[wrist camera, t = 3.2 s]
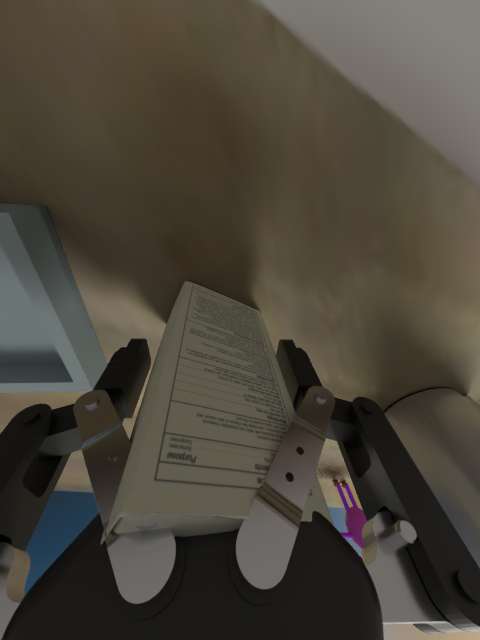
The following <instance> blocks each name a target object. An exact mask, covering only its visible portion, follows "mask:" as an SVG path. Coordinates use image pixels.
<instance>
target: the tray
mask: <svg viewBox="0 0 480 640" xmlns="http://www.w3.org/2000/svg"><path fill="white" fill-rule="evenodd" d="M106 366H107V364H106V361H105V358H104V356H103V353H102V351H101V348H100V345H99V343H98V340H97V337H96V335H95V332H94V330H93V327H92V324H91V322H90V319H89V316H88V314H87V311H86V309H85V306H84V303H83V301H82V298H81V295H80V293H79V290H78V288H77V285H76V282H75V280H74V277H73V274H72V272H71V269H70V267H69V264H68V261H67V259H66V256H65V253H64V251H63V248H62V246H61V243H60V240H59V238H58V235H57V232H56V230H55V227H54V225H53V222H52V219H51V217H50V214H49V211H48V209H47V206H42V205H26V204H9V203H0V393H19V392H76V391H92V390H93V389H94V387H95V385H96V383H97V382H98V380H99V378H100V377H101V375H102V373H103V372H104V370H105V368H106Z"/></svg>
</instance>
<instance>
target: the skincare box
mask: <svg viewBox="0 0 480 640" xmlns="http://www.w3.org/2000/svg"><path fill="white" fill-rule="evenodd" d="M295 416H296V413H295V410H294V408H293V405H292V401H291V399H290V396H289V393H288V390H287V387H286V384H285V381H284V378H283V375H282V372H281V370H280V367H279V364H278V361H277V358H276V355H275V352H274V349H273V346H272V343H271V340H270V337H269V334H268V331H267V329H266V326H265V323H264V320H263V317H262V314H261V312H260V311H258V310H256V309H253V308H251V307H249V306H247V305H245V304H242V303H240V302H238V301H235V300H233V299H231V298H228V297H226V296H224V295H221V294H219V293H217V292H214V291H212V290H210V289H207V288H205V287H202V286H199V285H197V284H194V283H192V282H189V281H185V282H184V284H183V286H182V288H181V290H180V293H179V295H178V297H177V299H176V302H175V304H174V307H173V309H172V311H171V314H170V317H169V319H168V322H167V325H166V328H165V331H164V334H163V337H162V340H161V343H160V346H159V350H158V353H157V356H156V359H155V362H154V365H153V368H152V371H151V374H150V377H149V380H148V384H147V387H146V390H145V393H144V396H143V399H142V402H141V406H140V409H139V412H138V415H137V418H136V421H135V424H134V428H133V431H132V434H131V437H130V442H131V445H132V447H131V450H130V453H129V456H128V460H127V463H126V466H125V469H124V473H123V476H122V479H121V483H120V485H119V488H118V493H117V496H116V499H115V502H114V506H113V509H112V512H111V516H110V519H109V522H108V526H107V530H106V534H109V533H110V532H111V531H114V532H115V533H127V532H136V531H147V530H155V529H162V528H169V527H170V529H171V531H172V533H173V536H174V537H176V536H181V537H187V536H197V535H205V534H213V533H221V532H229V531H235V529H240V527H241V525H242V523H243V521H244V519H249V518H250V507H251V505H252V503H253V500H254V498H255V496H256V494H257V492H258V490H259V488H260V487H261V485H263V484H264V479H265V477H266V475H267V473H268V471H269V468H270V466H271V464H272V462H273V460H274V458H275V456H276V454H277V452H278V450H279V448H280V446H281V443H282V441H283V439H284V437H285V435H286V433H287V431H288V429H289V427H290V425H291V423H292V420H293V419H294V417H295ZM286 480H287V481H289V482H291V481H290V480H289V478H287V477H286ZM313 511H317V512H319V513H321V514H322V515H323V516H324V517H325V518H327V519H328V520H329V521H330V522H331V523H332V524H333V521H332V518H331V516H330V513H329V510H328V507H327V504H326V501H325V498H324V495H323V492H322V490H321V487H320V484H319V481H318V478H317V475H316V472H315V474H314V478H313V481H312V484H311V487H310V490H309V494H308V497H307V500H306V503H305V506H304V510H303V513H302V517H301V521H307V522H311V521H312V512H313ZM104 541H105V536H104V532H103V536H102V539H101V544H103V543H104Z"/></svg>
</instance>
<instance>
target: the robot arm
mask: <svg viewBox="0 0 480 640" xmlns="http://www.w3.org/2000/svg"><path fill="white" fill-rule="evenodd" d="M276 358H277V361H278V364H279V367H280V370H281V372H282V375H283V378H284V381H285V384H286V387H287V390H288V393H289V396H290V399H291V401H292V405H293V408H294V410H295V413H296V416H295V417H294V419H293V420H292V423H291V425H290V427H289V429H288V431H287V433H286V435H285V437H284V439H283V441H282V443H281V446H280V448H279V450H278V452H277V454H276V456H275V458H274V460H273V462H272V464H271V466H270V468H269V471H268V473H267V475H266V477H265V479H264V484H263V485H261V487H260V488H259V490H258V492H257V494H256V496H255V498H254V500H253V503H252V505H251V507H250V518H249V519H244V521H243V523H242V525H241V527H240V529H235V531H229V532H221V533H213V534H205V535H197V536H187V537H181V536H176V537H174V536H173V533H172V531H171V529H170V527H169V528H162V529H155V530H147V531H136V532H127V533H115V532H114V531H111V532H110V533H109V534H106V530H107V526H108V522H109V519H110V516H111V512H112V509H113V506H114V502H115V499H116V496H117V493H118V488H119V485H120V483H121V479H122V476H123V473H124V469H125V466H126V463H127V460H128V456H129V453H130V450H131V447H132V445H131V442H130V440H129V438H128V436H127V434H126V431H125V429H124V427H123V425H122V422H123V420H124V418H132V416H133V413H134V411H135V408H136V405H137V402H138V400H139V397H140V394H141V391H142V388H143V386H144V383H145V380H146V377H147V375H148V372H149V369H150V365H151V358H150V353H149V348H148V344H147V340H146V339H131V340H130V342H129V344H128V345H127V347H121V348H120V349H119V350H118V351H117V352H115V353H114V355H113V356H112V358H111V360H110V362H109V363H108V365H107V366H106V368H105V370H104V372H103V373H102V375H101V377H100V378H99V380H98V382H97V383H96V385H95V387H94V389H93V390H92V391H90V392H87V393H85V394H84V395H82V396H81V397H80V398H79V399H78V400H77V401H76V402H75V403H74V404H71V405H68V406H64V407H61V408H57V409H53V410H52V409H51V407H50V406H49V405H47V404H37V405H33V406H30V407H28V408H26V409H24V410H22V411H21V412H19V413H18V414H17V415H16V416H15V417H14V418H13V419H12V420H11V421H10V422H9V424H8V425H7V426H6V428H5V429H4V430H3V432H2V433H1V434H0V640H384V638H383V624H413V625H414V626H416V627H417V628H418V629H419V630H421V631H423V632H425V633H430V634H432V633H450V632H471V631H480V405H479V404H477V403H476V402H475V401H474V400H473V399H472V398H471V397H470V396H462V395H461V394H460V393H459V392H457V391H455V390H453V389H447V388H437V389H431V390H426V391H422V392H419V393H416V394H413V395H411V396H409V397H407V398H405V399H403V400H401V401H399V402H398V403H396V404H394V405H393V406H392V407H391V408H389V409H388V410H387V411H386V412H385V413H383V411H382V409H381V408H380V407H379V406H378V405H377V404H376V403H375V402H374V401H372V400H370V399H368V398H365V397H357V398H355V399H354V400H353V402H349V401H346V400H342V399H338V398H335V397H334V395H333V394H332V393H331V392H330V391H329V390H328V389H326V388H324V387H323V386H322V384H321V382H320V380H319V378H318V376H317V374H316V372H315V370H314V368H313V367H312V363H311V361H310V359H309V357H308V355H307V353H306V352H305V351H304V350H302V349H301V348H296V346H295V344H294V342H293V340H280V341H279V345H278V349H277V354H276ZM326 438H328V439H332V440H335V441H337V443H338V445H339V448H340V450H341V453H342V456H343V458H344V461H345V464H346V466H347V469H348V472H349V474H350V477H351V480H352V482H353V485H354V487H355V490H356V493H357V495H358V498H359V501H360V503H361V506H362V509H363V511H364V514H365V517H366V519H367V522H366V523H365V524H364V526H363V529H362V539H363V544H364V548H365V561H364V562H363V561H362V559H361V558H360V556H359V555H358V553H357V552H356V551H355V550H354V549H353V547H352V546H351V545H350V544H349V543H348V542H347V541H346V539H345V538H344V537H343V536H342V535H341V534H340V532H339V531H338V530H337V529H336V528H335V527H334V526H333V524H332V523H331V522H330V521H329V520H328V519H327V518H325V517H324V516H323V515H322V514H321V513H319V512H317V511H313V512H312V521H311V522H307V521H301V517H302V513H303V510H304V506H305V503H306V500H307V497H308V494H309V490H310V487H311V484H312V481H313V478H314V474H315V471H316V468H317V465H318V462H319V458H320V455H321V452H322V449H323V446H324V442H325V439H326ZM80 449H82V453H83V456H84V460H85V464H86V467H87V471H88V474H89V478H90V481H91V485H92V488H93V492H94V495H95V499H96V503H97V506H98V509H99V513H98V514H97V516H96V517H95V518H94V519H93V520H92V521H91V522H90V523H89V524H88V525H87V526H86V528H85V529H84V530H83V531H82V532H81V533H80V534H79V535H78V536H77V538H75V540H74V541H73V542H72V543H71V544H70V545H69V546H68V547H67V548H66V549H65V551H64V552H63V553H62V554H61V555H60V556H59V557H58V558H57V559H56V561H55V562H54V563H53V564H52V565H51V566H50V567H49V568H48V569H47V570H46V571H45V572H44V574H43V575H42V576H41V577H40V578H39V579H38V580H37V581H36V582H35V584H34V585H33V586H32V587H31V588H30V590H29V591H28V593H27V594H26V595H24V586H25V581H26V579H27V575H28V572H29V568H30V558H29V555H28V554H27V553H26V552H25V549H26V547H27V545H28V543H29V541H30V539H31V537H32V535H33V532H34V530H35V528H36V526H37V524H38V522H39V520H40V517H41V516H42V513H43V511H44V509H45V507H46V505H47V503H48V501H49V498H50V496H51V494H52V492H53V490H54V488H55V486H56V484H57V482H58V480H59V477H60V475H61V473H62V471H63V469H64V467H65V465H66V463H67V460H68V458H69V456H70V454H71V452H74V451H77V450H80ZM286 477H287V478H289V480H290V481H291V482H289V481H287V480H286ZM103 532H104V536H105V541H104V543H103V544H101V539H102V536H103Z"/></svg>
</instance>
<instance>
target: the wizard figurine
mask: <svg viewBox="0 0 480 640" xmlns="http://www.w3.org/2000/svg"><path fill="white" fill-rule="evenodd" d="M334 486H336V487H337V489H338V491H339V494H340V496H341V499H342V501H343V504H344V506H345V509H346V511H347V512H346V516H345V521H346V526H347V530H348V532H349V533H340V534H341V535H342V536H343V537H344V538H352V539H353V541H354V542H355V543H356V544H357V545H358V546H359V547H361V548H362V549H361V550H362V556H363V559H364V561H365V548H364V544H363V539H362V529H363V526H364V524H365V523H366V522H367V519H366V517H365V514H364V511H363V510H361V509H360V508H358V507H357V504H356V502H355V500H354V497H353V495H352V493H351V491H350V488H349V486H348V484H347V483H346V482H344V483H342V487H343V488H346V490H347V493H348V495H349V497H350V500H351V502H352V504H353V507H350V508H349V506H348V504H347V501H346V499H345V496H344V494H343V491H342V489H341V486H340V483H339V482H338V481H335V482H334ZM360 558H361V557H360ZM361 559H362V558H361ZM363 559H362V561H363Z"/></svg>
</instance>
